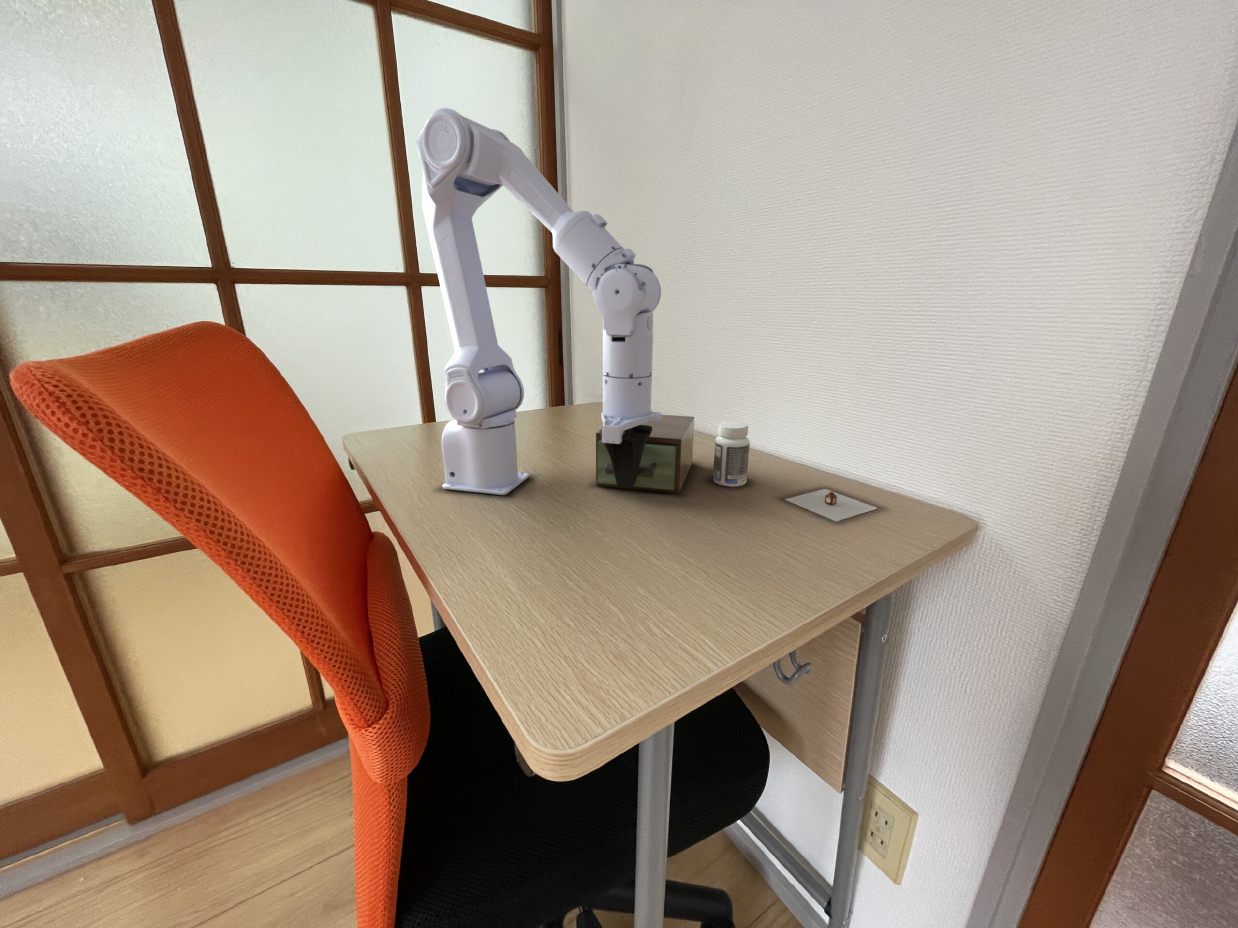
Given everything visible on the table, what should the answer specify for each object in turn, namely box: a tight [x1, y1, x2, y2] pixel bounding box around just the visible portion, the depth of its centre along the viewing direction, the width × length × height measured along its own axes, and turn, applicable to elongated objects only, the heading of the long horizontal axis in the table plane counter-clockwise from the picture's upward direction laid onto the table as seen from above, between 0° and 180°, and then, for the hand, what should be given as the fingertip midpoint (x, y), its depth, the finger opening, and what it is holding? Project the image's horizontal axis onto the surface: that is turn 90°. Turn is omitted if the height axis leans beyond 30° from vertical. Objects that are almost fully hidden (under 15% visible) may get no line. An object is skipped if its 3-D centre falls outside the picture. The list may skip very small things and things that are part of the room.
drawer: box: [598, 440, 676, 490], centre depth 73 cm, size 16×10×6 cm, turn 165°
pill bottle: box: [712, 420, 751, 488], centre depth 74 cm, size 5×5×8 cm
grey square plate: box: [784, 488, 878, 522], centre depth 67 cm, size 8×8×2 cm
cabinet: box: [595, 414, 695, 495], centre depth 77 cm, size 14×12×8 cm
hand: (626, 484), depth 65 cm, fingers closed, pressing on drawer
